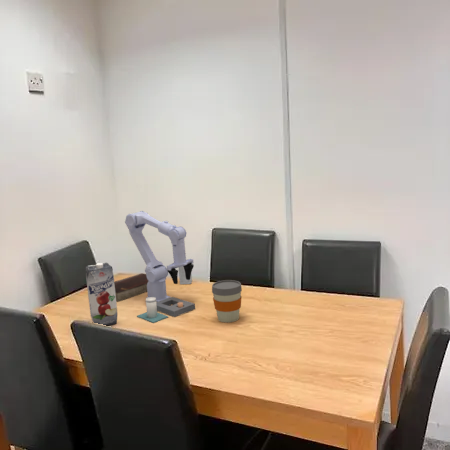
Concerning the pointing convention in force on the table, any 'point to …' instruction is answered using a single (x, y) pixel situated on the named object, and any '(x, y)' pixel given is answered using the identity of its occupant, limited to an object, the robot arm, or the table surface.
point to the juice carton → (101, 293)
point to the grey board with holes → (174, 306)
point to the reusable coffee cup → (227, 299)
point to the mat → (153, 320)
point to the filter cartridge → (151, 307)
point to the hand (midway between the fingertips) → (181, 281)
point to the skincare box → (183, 277)
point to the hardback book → (130, 287)
